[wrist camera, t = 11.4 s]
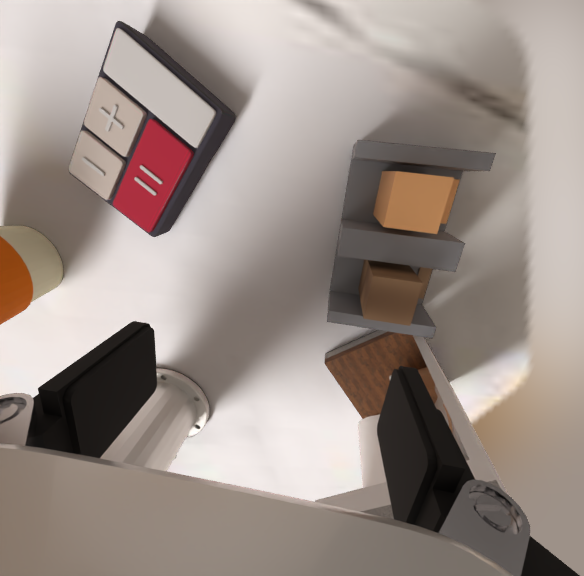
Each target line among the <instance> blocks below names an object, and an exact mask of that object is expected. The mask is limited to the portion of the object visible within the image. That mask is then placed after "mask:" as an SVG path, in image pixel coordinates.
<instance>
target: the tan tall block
mask: <svg viewBox="0 0 584 576" xmlns="http://www.w3.org/2000/svg"><path fill="white" fill-rule="evenodd" d="M453 180H454V178H453V177H444V176H435V175H426V174H417V173H409V172H400V171H382V175H381V179H380V184H379V189H378V194H377V198H376V203H375V208H374V212H373V215H374V216H375V217H376V219H377V220H378V221H379V222H380V224H381V225H382V226H383V227H387V228H394V229H402V230H410V231H417V232H425V233H433V234H437V233H438V230H439V226H440V223H441V220H442V216H443V213H444V210H445V207H446V203H447V200H448V197H449V193H450V190H451V187H452V184H453Z"/></svg>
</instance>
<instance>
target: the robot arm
mask: <svg viewBox="0 0 584 576" xmlns="http://www.w3.org/2000/svg"><path fill="white" fill-rule="evenodd" d="M38 391H39V394H38V395H37V396H35V397H34V398H32V397H31V396H30V395H28V394H24V393H13V394H6V395H2V396H0V576H579V575H578V574H577V573H576V572H574V571H573V570H572V569H571V568H569V567H568V566H567V565H566V564H564V563H563V562H562V561H561V560H559V559H558V558H557V557H556V556H554V555H553V554H552V553H551V552H549V551H548V550H547V549H545V548H544V547H543V546H542V545H541V544H539V543H538V542H536V540H534V539H533V538H532V537H531V536H530V525H529V522H528V519H527V517H526V515H525V514H524V512H523V511H522V509H521V508H520V506H519V505H518V504H517V503H516V502H515V501H514V500H513V499H512V498H511V497H510V496H509V495H508V494H506V493H505V492H504V491H503V490H501V489H500V488H498V487H496V486H494V485H493V484H491V483H488V482H485V481H482V480H475V478H474V476H473V474H472V472H471V470H470V468H469V466H468V464H467V462H466V460H465V458H464V456H463V454H462V452H461V450H460V448H459V446H458V444H457V442H456V440H455V438H454V436H453V434H452V432H451V430H450V428H449V426H448V424H447V422H446V420H445V418H444V416H443V414H442V412H441V411H440V410H438V409H436V407H435V405H434V402H433V400H432V398H431V396H430V394H429V392H428V390H427V388H426V386H425V384H424V382H423V380H422V378H421V376H420V374H419V372H418V370H417V369H416V368H411V367H405V366H400V367H399V368H398V369H394V370H393V372H392V376H391V379H390V383H389V386H388V390H387V393H386V396H385V400H384V403H383V407H382V410H381V413H380V417H379V420H378V424H377V436H378V441H379V446H380V451H381V456H382V461H383V466H384V471H385V476H386V481H387V486H388V491H389V496H390V502H391V507H392V512H393V517H394V519H390V518H386V517H381V516H377V515H372V514H368V513H364V512H359V511H355V510H350V509H346V508H342V507H337V506H332V505H327V504H323V503H318V502H313V501H308V500H303V499H299V498H294V497H289V496H284V495H280V494H275V493H270V492H265V491H260V490H256V489H251V488H246V487H241V486H236V485H231V484H226V483H221V482H216V481H211V480H206V479H201V478H196V477H191V476H186V475H181V474H176V473H172V472H167V470H168V468H169V467H170V465H171V463H172V461H173V460H174V459H175V458H176V456H177V453H178V451H179V449H180V447H181V446H182V444H183V442H184V440H185V439H186V437H190V436H193V435H195V434H197V433H198V432H200V431H201V430H202V429H203V427H204V426H205V424H206V422H207V420H208V417H209V404H208V401H207V398H206V396H205V394H204V393H203V392H202V390H201V389H200V388H199V387H198V386H197V385H196V384H195V383H194V382H193V381H192V380H190V379H189V378H188V377H186V376H184V375H182V374H181V373H178V372H175V371H173V370H168V369H161V368H156V355H155V338H154V330H153V328H151V327H150V325H149V324H147V323H141V322H135V321H133V322H131V323H130V324H128V325H127V326H125V327H124V328H122V329H121V330H120V331H118V332H117V333H115V334H114V335H113V336H111V337H110V338H108V339H107V340H105V341H104V342H103V343H101V344H100V345H98V346H97V347H96V348H94V349H93V350H91V351H90V352H89V353H87V354H86V355H84V356H83V357H81V358H80V359H79V360H77V361H76V362H74V363H73V364H72V365H70V366H69V367H67V368H66V369H64V370H63V371H62V372H60V373H59V374H57V375H56V376H55V377H53V378H52V379H50V380H49V381H47V382H46V383H45V384H43V385H42V386H40V387H39V388H38Z"/></svg>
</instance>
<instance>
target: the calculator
mask: <svg viewBox="0 0 584 576" xmlns="http://www.w3.org/2000/svg"><path fill="white" fill-rule="evenodd" d="M235 119H236V116H235V114H234V112H232V111H231V110H230V109H229V108H228V107H227V106H226V105H225V104H223V103H222V102H221V101H220V100H219V99H218V98H217V97H215V96H214V95H213V94H212V93H211V92H210V91H209V90H207V89H206V88H205V87H204V86H203V85H202V84H201V83H199V82H198V81H197V80H196V79H195V78H194V77H193V76H191V75H190V74H189V73H188V72H187V71H186V70H185V69H183V68H182V67H181V66H180V65H179V64H178V63H177V62H175V61H174V60H173V59H172V58H171V57H170V56H169V55H167V54H166V53H165V52H164V51H163V50H162V49H161V48H159V47H158V46H157V45H156V44H155V43H154V42H153V41H152V40H150V39H149V38H148V37H147V36H145V35H144V34H142V33H140V32H139V31H137V30H135V29H134V28H132V27H130V26H129V25H127V24H125V23H123V22H122V21H118V22H117V23H116V25H115V28H114V31H113V34H112V37H111V40H110V43H109V46H108V49H107V52H106V55H105V58H104V61H103V64H102V67H101V70H100V73H99V76H98V79H97V82H96V86H95V89H94V92H93V95H92V98H91V101H90V104H89V107H88V110H87V113H86V116H85V119H84V122H83V125H82V128H81V131H80V134H79V137H78V140H77V143H76V146H75V149H74V152H73V155H72V159H71V162H70V165H69V168H68V170H69V172H70V174H72V175H73V176H74V177H75V178H77V179H78V180H79V181H81V182H82V183H83V184H84V185H86V186H87V187H88V188H90V189H91V190H92V191H94V192H95V193H96V194H97V195H99V196H100V197H101V198H103V199H104V200H105V201H107V202H108V203H109V204H110V205H112V206H113V207H114V208H116V209H117V210H118V211H120V212H121V213H122V214H123V215H125V216H126V217H127V218H129V219H130V220H131V221H133V222H134V223H135V224H136V225H138V226H139V227H140V228H142V229H143V230H144V231H146V232H147V233H148V234H149V235H151V236H152V237H156V236H159V235H161V234H164V233H166V232H168V231H169V230H170V229H171V227H172V225H173V224H174V222H175V220H176V219H177V217H178V215H179V214H180V212H181V210H182V209H183V207H184V205H185V204H186V202H187V200H188V198H189V197H190V195H191V193H192V191H193V190H194V188H195V186H196V184H197V183H198V181H199V179H200V177H201V176H202V174H203V172H204V170H205V169H206V167H207V165H208V163H209V162H210V160H211V158H212V157H213V155H214V154H215V153H216V152H217V150H218V148H219V147H220V145H221V143H222V141H223V140H224V138H225V136H226V135H227V133H228V131H229V130H230V128H231V126H232V125H233V123H234V121H235Z"/></svg>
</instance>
